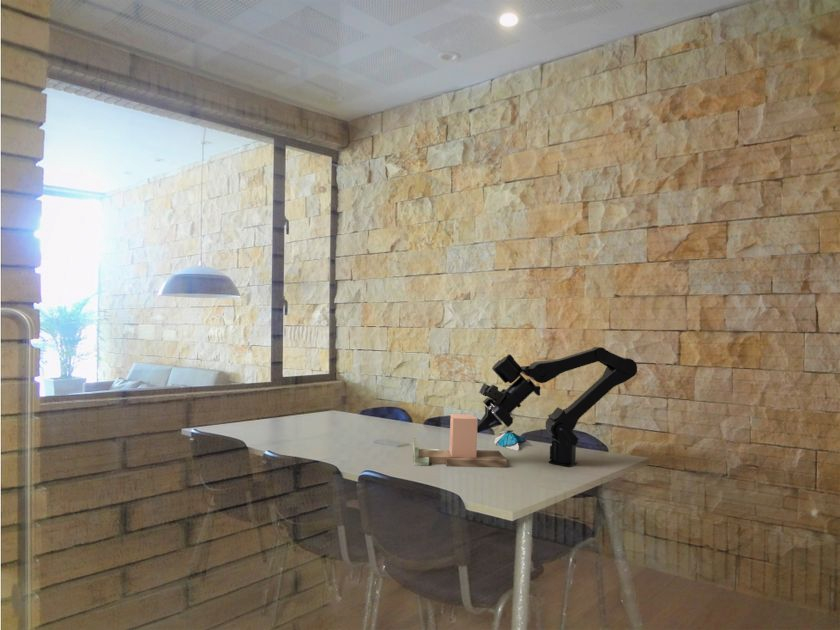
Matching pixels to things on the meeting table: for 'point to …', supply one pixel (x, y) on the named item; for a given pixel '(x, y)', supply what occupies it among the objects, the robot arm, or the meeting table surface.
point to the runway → (457, 458)
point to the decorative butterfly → (511, 440)
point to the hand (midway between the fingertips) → (476, 431)
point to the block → (463, 435)
